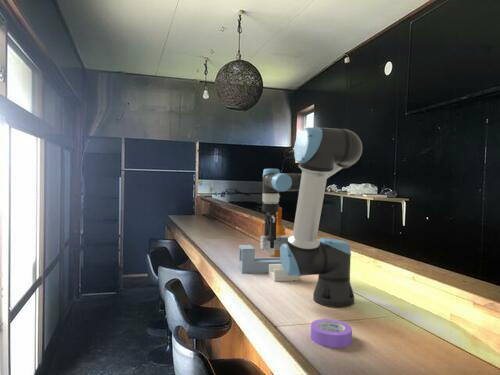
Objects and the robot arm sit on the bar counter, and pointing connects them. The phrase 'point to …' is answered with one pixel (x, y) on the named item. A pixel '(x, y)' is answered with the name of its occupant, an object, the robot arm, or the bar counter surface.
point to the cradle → (279, 273)
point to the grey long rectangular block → (278, 242)
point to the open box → (254, 260)
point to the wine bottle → (279, 230)
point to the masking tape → (331, 333)
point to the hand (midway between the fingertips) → (269, 253)
